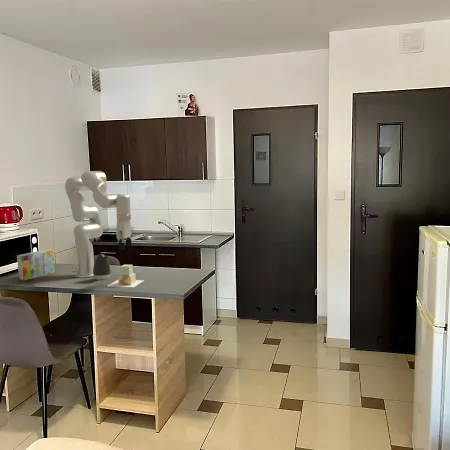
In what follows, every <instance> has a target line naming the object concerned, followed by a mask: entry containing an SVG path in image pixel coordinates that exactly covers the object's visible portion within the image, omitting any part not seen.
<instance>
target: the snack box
mask: <svg viewBox="0 0 450 450" xmlns="http://www.w3.org/2000/svg"><path fill="white" fill-rule="evenodd" d="M16 259H17V260H16V262H17V269H18V270H17V271H18V280H20V281H27V280H32V279H35V278H40V277H45V276H48V275H52V274H55V273H56V270H55V259H54V250H53V249H43V250H39V251H33V252H27V253H24V254H18V255H16Z"/></svg>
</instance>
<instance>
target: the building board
mask: <svg viewBox="0 0 450 450" xmlns="http://www.w3.org/2000/svg"><path fill="white" fill-rule="evenodd" d="M144 281H145V280H143V279H140V280H139V279H136V282H135V283H133V284H132V285H119V279H117V280H115V281H113V282H112V283H109V284H108V285H107V286H106V287H108V288H109V287H112V288H135V287H137V286H138V285H139V284H142V283H143V282H144Z"/></svg>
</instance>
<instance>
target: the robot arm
mask: <svg viewBox="0 0 450 450" xmlns="http://www.w3.org/2000/svg"><path fill="white" fill-rule="evenodd" d="M64 185H65V186H64V188H65V192H66V195H67V198H68V200H69V203H70V209H71V213H72V214H71V215H72V218H73V220H74V221H75V222H77V223H80V224H77V225H75V226H74V228H73V235H74V239H75V241H74V242H75V247H76V248H75V249H76V260H77V268H73V269H72V273H75V277H76V278H80V279H81V278H83V279H85V278H92V277H94V275H93V267H94V262H95V260H94V258H95V257H94V248H93V243H92V242H91V241H90V240H91V239H97V238H100V237H101V236H102V235H103V230H104V228H103V224H102V220H101V215H100V211H99V208H97V206H95V205H92V204H91V205H90V204H89V205H87V204H86V201H85V197H84V196H83V195H82V193H80V191H81V192H82V191H91V192H92V198H93V200H94V202H95V204H97V205H98V206H99V207H100V208H102V209H113V208H115V210H116V211H115V212H116V228H115V229H116V230H115V231H116V233H115V234H116V239H117V244H118V245H117V246H118V251H125V247H126V248H131V247H132V244H133V243H132V236H133V235H132V234H133V231H132V226H131V225H132V224H131V220H132V219H131V218H132V217H131V216H132V215H131V197H130V195H129V194H123V193H122V194H121V193H111V194H110V193H109V194H108V193H107V194H104V193H105V192H106V191H107V189H108V188H107V176H106V174H105V172H103V171H101V170H94V171H93V170H89V171H88V170H87V171H85V172H83V173H82V174H81V175H80V176H79V175H78V176H71V177H68V178H67V179H66V181H65V183H64ZM84 222H87V223H84ZM124 241H125V242H124Z"/></svg>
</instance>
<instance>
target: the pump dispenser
mask: <svg viewBox="0 0 450 450" xmlns="http://www.w3.org/2000/svg"><path fill="white" fill-rule="evenodd" d="M108 258H109V255H105V254H104V253H99V254H98V255H97V256H96V257H95V260H94V267H93V275H94V276H93V277H94V279H95V280H97V281H100V280H108V279H109V278H110V276H111V273H112V269H111V264H110V262H109V260H108Z"/></svg>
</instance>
